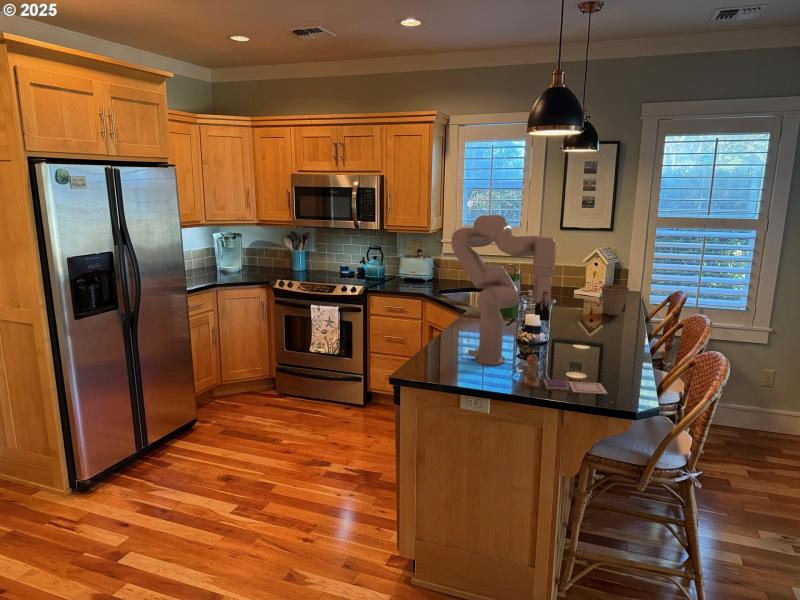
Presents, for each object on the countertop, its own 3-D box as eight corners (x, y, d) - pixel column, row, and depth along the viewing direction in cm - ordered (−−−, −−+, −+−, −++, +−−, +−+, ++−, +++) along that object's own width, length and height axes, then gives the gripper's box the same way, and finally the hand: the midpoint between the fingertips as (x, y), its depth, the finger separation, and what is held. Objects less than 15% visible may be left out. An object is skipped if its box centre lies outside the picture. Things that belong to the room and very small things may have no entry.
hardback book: (484, 313, 305) (485, 272, 300) (490, 311, 311) (492, 271, 306) (511, 318, 295) (514, 276, 290) (517, 316, 300) (520, 274, 295)
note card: (572, 392, 188) (572, 391, 188) (567, 382, 198) (567, 381, 198) (607, 394, 187) (607, 393, 187) (600, 383, 196) (600, 382, 196)
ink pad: (546, 389, 191) (546, 385, 190) (543, 382, 197) (543, 378, 197) (569, 390, 190) (569, 386, 189) (565, 383, 196) (565, 379, 196)
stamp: (524, 386, 193) (526, 355, 191) (523, 382, 197) (525, 352, 194) (538, 387, 192) (540, 356, 190) (537, 383, 196) (539, 353, 194)
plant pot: (595, 314, 307) (597, 287, 304) (604, 310, 318) (607, 284, 315) (621, 318, 297) (624, 290, 294) (630, 313, 308) (632, 287, 305)
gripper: (529, 268, 200) (527, 312, 203) (537, 274, 183) (535, 322, 186) (549, 268, 200) (547, 312, 203) (559, 274, 183) (556, 322, 186)
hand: (541, 317), depth 195 cm, fingers open, 9 cm apart
